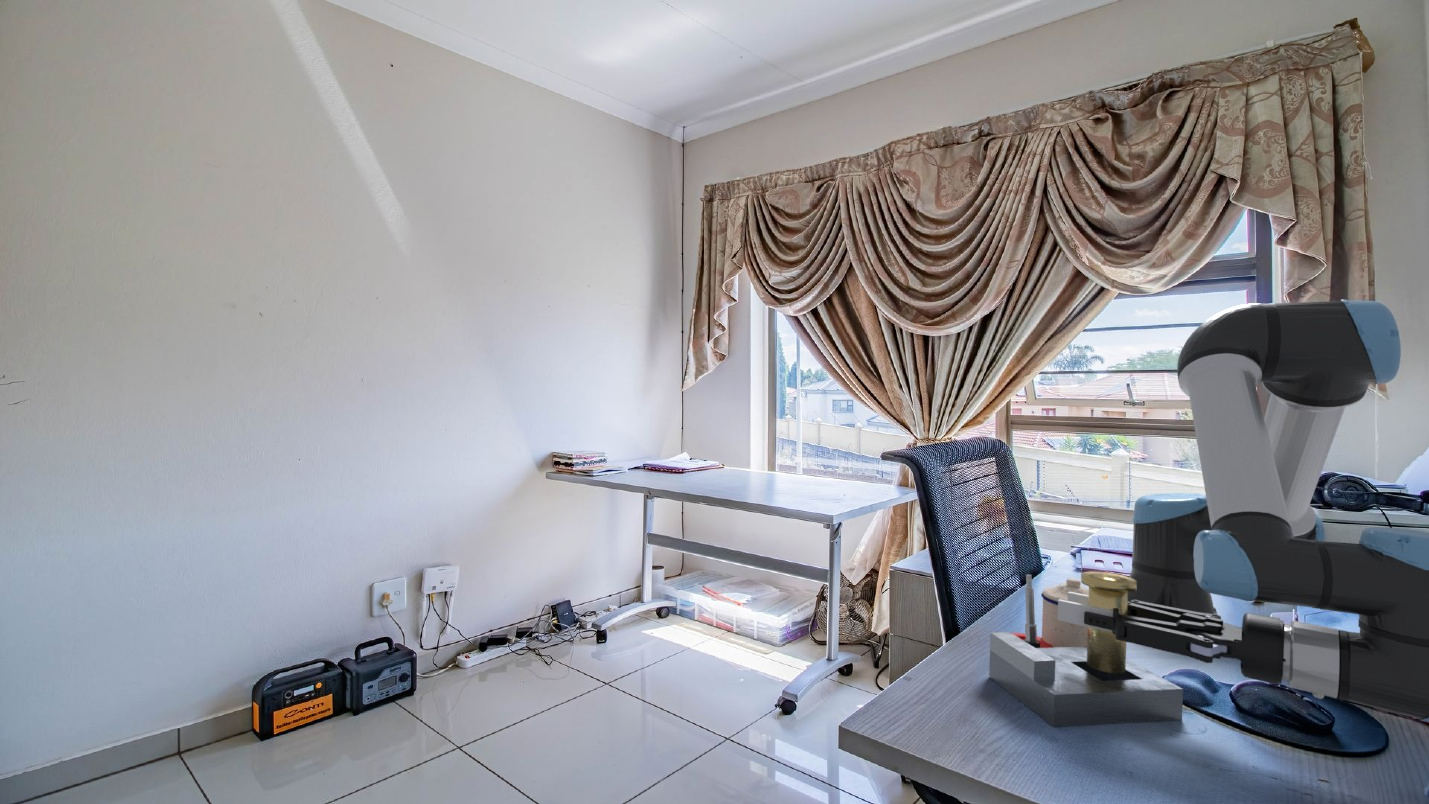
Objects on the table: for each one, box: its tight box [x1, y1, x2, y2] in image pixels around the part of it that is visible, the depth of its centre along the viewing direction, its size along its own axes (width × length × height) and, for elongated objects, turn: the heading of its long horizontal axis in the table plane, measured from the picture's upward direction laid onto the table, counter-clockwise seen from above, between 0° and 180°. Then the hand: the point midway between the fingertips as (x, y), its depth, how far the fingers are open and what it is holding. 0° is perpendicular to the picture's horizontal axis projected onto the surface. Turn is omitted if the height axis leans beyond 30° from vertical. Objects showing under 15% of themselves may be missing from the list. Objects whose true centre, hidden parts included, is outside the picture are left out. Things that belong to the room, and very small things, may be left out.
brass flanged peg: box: [1080, 570, 1137, 673], centre depth 86 cm, size 6×6×12 cm
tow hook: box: [1011, 574, 1052, 648], centre depth 104 cm, size 8×13×9 cm
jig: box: [988, 631, 1184, 728], centre depth 87 cm, size 18×14×6 cm
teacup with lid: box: [1041, 577, 1089, 648], centre depth 105 cm, size 12×9×12 cm
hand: (1063, 605), depth 90 cm, fingers closed on brass flanged peg, 4 cm apart
